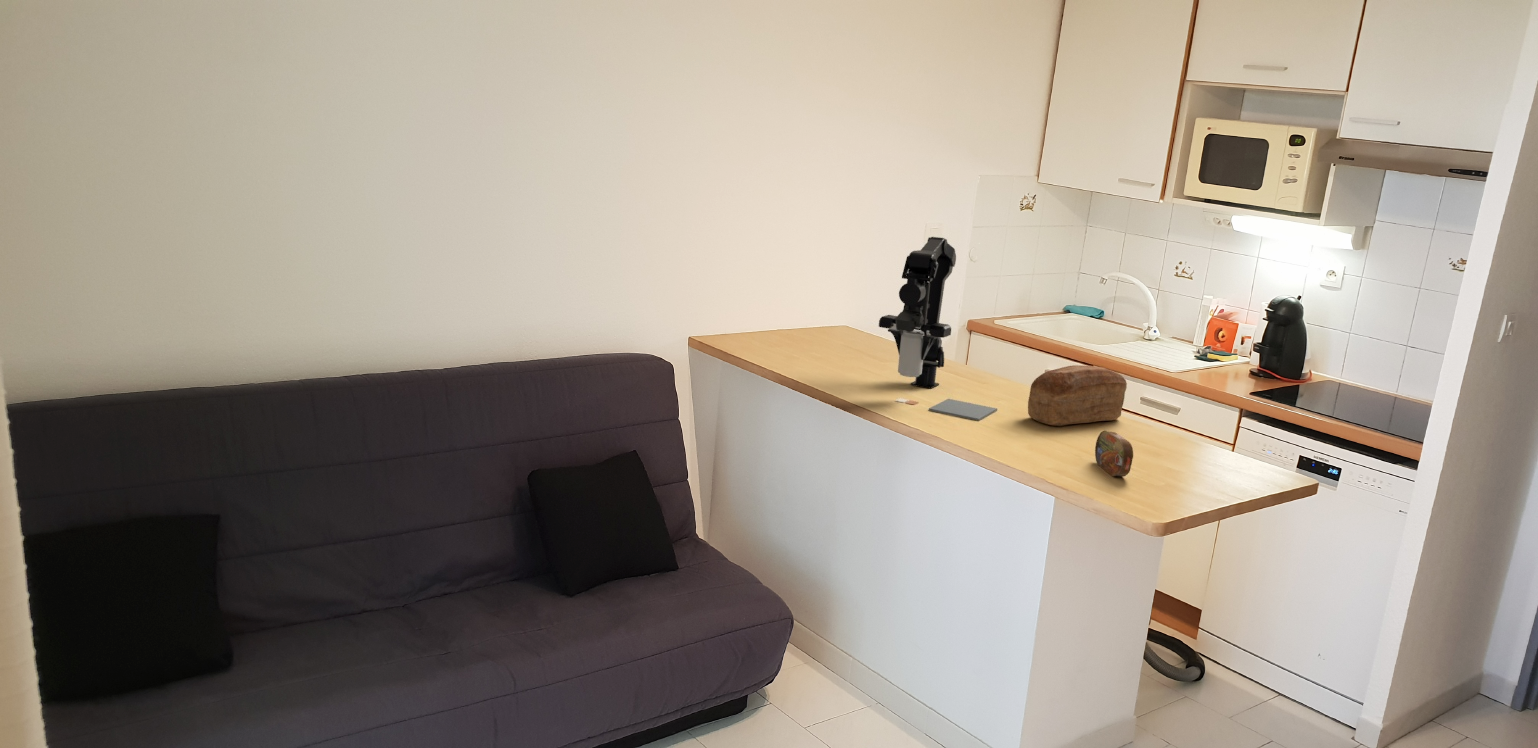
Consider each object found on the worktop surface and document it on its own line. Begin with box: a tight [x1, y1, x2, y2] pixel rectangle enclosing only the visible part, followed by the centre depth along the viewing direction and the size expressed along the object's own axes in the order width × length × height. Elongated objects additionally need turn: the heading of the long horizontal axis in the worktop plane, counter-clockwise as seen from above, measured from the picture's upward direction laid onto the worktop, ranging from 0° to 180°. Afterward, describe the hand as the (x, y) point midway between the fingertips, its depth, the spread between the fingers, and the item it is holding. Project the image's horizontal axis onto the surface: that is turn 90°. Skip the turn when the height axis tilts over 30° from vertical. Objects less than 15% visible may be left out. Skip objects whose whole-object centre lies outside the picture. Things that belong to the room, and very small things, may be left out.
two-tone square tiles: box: [894, 397, 920, 406], centre depth 289 cm, size 3×6×1 cm, turn 59°
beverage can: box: [897, 329, 924, 378], centre depth 286 cm, size 6×6×12 cm
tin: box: [1094, 429, 1134, 478], centre depth 240 cm, size 15×3×8 cm, turn 5°
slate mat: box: [928, 398, 998, 422], centre depth 284 cm, size 14×14×1 cm
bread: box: [1027, 364, 1128, 427], centre depth 282 cm, size 12×28×14 cm, turn 120°
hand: (911, 357), depth 286 cm, fingers closed on beverage can, 6 cm apart
